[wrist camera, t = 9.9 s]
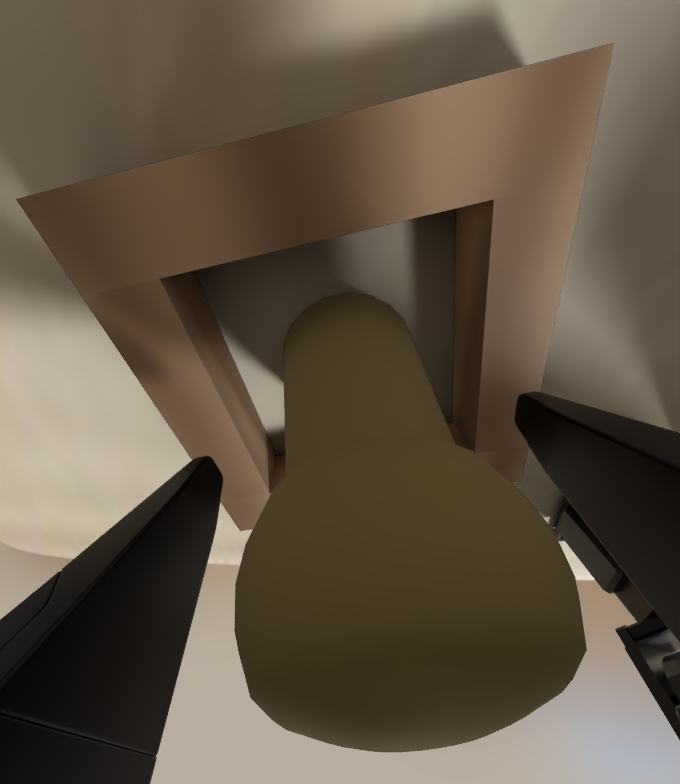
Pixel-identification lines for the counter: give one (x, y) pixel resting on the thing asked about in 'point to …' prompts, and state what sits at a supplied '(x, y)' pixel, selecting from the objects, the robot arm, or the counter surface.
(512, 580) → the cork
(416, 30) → the counter surface
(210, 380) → the socket block
